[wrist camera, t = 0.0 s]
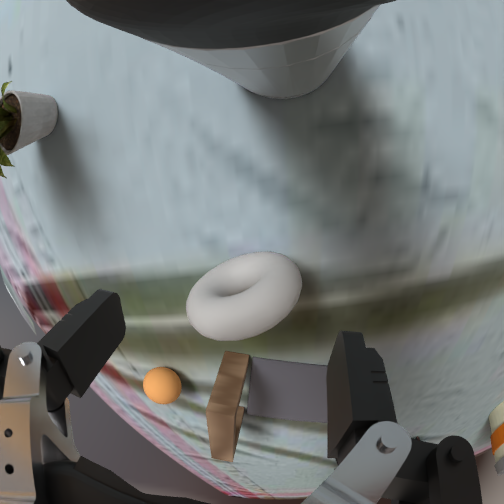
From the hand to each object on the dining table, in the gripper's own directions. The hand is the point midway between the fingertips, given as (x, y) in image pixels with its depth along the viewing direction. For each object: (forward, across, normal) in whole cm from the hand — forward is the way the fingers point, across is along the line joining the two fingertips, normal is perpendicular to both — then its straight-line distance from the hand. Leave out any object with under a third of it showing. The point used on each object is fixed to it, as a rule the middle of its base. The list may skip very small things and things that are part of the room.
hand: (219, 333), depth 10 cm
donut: (+18, +1, +6) cm, 19 cm away
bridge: (+18, +2, +26) cm, 32 cm away
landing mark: (+18, -7, +26) cm, 33 cm away
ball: (+15, +12, +26) cm, 33 cm away
